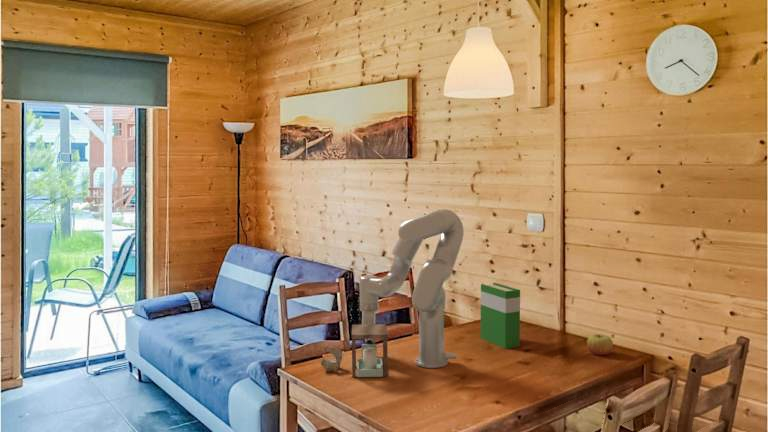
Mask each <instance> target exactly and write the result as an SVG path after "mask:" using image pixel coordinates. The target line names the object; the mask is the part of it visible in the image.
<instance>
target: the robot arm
mask: <svg viewBox="0 0 768 432" xmlns="http://www.w3.org/2000/svg"><path fill="white" fill-rule="evenodd" d="M397 234H398V237H399V238H398V239H397V242H396V244H395V245H394V247H393V250H392V254H393V262H392V265H391V267H390V269H389V271H388V272H387V274H386V275H385V276H382V277H380V278H379V277H378V276H377V275H373V274H366V275H365V274H364V275H362V276H360V278H359V311H360V312H361V325H363V324H376V312H378V311H379V297H381V298H387V297H390V296H391V295H393V294H394V293H396V292H398V291H399V290H400V289H401V288H402V286H403V285H404V282H405V281H406V279H407V277H408V275H409V272H410V271H411V267H412V263H413V260H414V259H415V256H416V255H417V253H418V250H419V249H420V246H421V245H422V243H423V241H424V240H426V239H430V238H432V237H435V236H439V235H440V237H439V240H438V242H437V245H436V247H435V249H434V250H435V251H434V253H433V256H432V257H431V259H430V260H428V261H426V262H425V263H424V264H423V266H422V267H421V269H420V272H419V274H418V278H417V280H416V282H415V285H414V289H413V291H412V296H411V302H412V305H413V307H414V308H415V310H416V311H418V313H419V315H418V316H419V317H418V330H419V331H418V333H419V334H418V338H419V340H418V342H419V343H418V344H419V345H418V346H419V347H418V349H419V350H418V351H419V352H418V355H419V356H418V357H416V358H415V360H414V363H415V364H416V366H418V367H421V368H427V369H437V368H439V369H440V368H443V367H446V366H448V363H449V360H450V359H451V360H456V359H457V354H456V353H452V352H446V351H445V345H444V344H445V340H444V338H445V306H446V291H445V288H444V287H443V285H444V283H445V282H447V280H448V279H450V278H451V276H452V274H453V270H454V267H455V264H456V261H457V259H458V255H459V252H460V249H461V246H462V243H463V240H464V226H463V222H462V220H461V219H460V217H459V215H457V214H456V212H454V211H453V210H451V209H446V208H445V209H439V210H435V211H432V212H428V213H427V214H424V215H421V216H418V217H415V218H411V219H408V220H404V221H403V222H402V223H401V224H400V225H399V228H398V232H397ZM373 340H374V339H365V341H364V342H365V343H364V344H374V341H373Z"/></svg>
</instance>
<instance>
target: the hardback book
mask: <svg viewBox="0 0 768 432" xmlns="http://www.w3.org/2000/svg"><path fill="white" fill-rule="evenodd" d="M520 321H521V289H517V288H515V287H511V286H509V285H508V286H507V285H505V284H500V283H498V282H493V283H492V284H489V285H487V284H483V283H481V284H480V335H479V336H480V339H483V340H484V341H487V342H489V343H491V344H494V345H496V346H498V347H500V348H503V349H511V348H512V349H513V348H517V347H520V338H521V337H520V334H521V333H520V329H521V326H520V324H521V322H520Z"/></svg>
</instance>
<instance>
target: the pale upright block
mask: <svg viewBox="0 0 768 432" xmlns="http://www.w3.org/2000/svg"><path fill="white" fill-rule="evenodd" d="M377 358H378V348H377V349H376V348H364V349H363V369H377Z"/></svg>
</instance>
